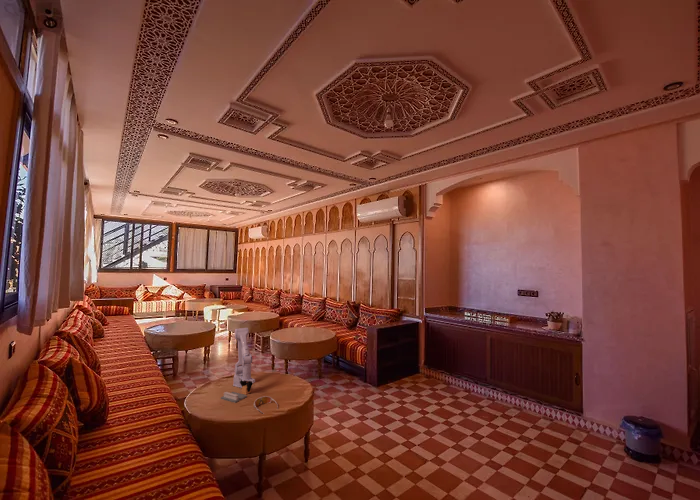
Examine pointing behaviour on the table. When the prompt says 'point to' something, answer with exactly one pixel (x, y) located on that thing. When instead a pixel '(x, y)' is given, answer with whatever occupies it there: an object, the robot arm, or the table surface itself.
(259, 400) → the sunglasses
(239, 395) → the board
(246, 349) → the robot arm
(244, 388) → the block
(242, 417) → the table surface
